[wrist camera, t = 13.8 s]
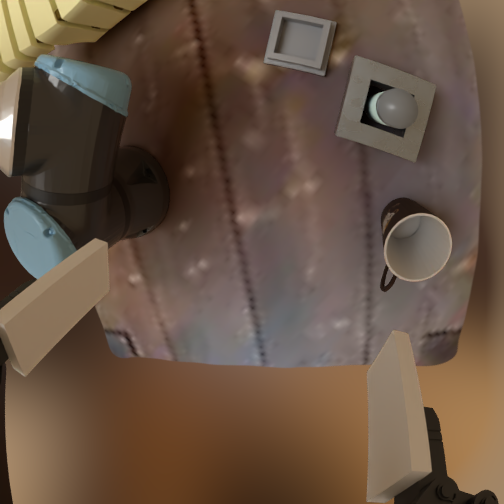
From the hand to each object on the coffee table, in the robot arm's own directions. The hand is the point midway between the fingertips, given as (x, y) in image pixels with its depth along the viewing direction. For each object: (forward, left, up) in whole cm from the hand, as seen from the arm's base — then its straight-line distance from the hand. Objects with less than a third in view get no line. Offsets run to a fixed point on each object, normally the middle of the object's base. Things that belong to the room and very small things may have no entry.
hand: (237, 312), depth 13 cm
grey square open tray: (-4, +17, -33) cm, 37 cm away
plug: (+8, +11, -33) cm, 35 cm away
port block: (+8, +11, -33) cm, 35 cm away
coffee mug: (+15, -4, -33) cm, 36 cm away
